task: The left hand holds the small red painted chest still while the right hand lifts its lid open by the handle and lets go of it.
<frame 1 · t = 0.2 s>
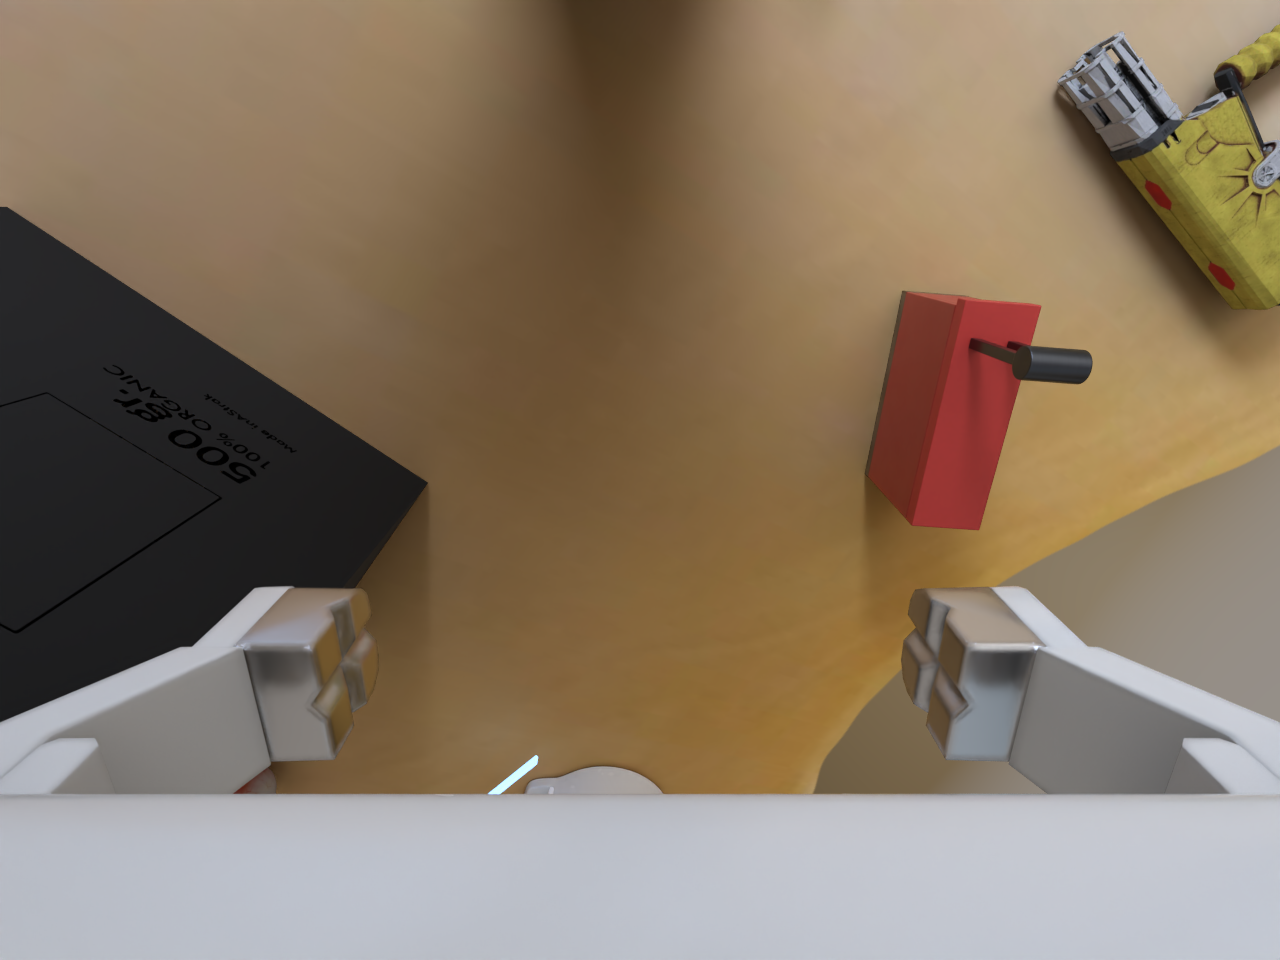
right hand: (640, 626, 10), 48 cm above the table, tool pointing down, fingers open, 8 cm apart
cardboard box: (183, 446, 59), on the table
toy gun: (1226, 129, 50), on the table
eyeball: (260, 770, 72), on the table
lid: (996, 436, 44), point 14 cm above the table, hinge at 0.0°
chest: (912, 388, 58), on the table
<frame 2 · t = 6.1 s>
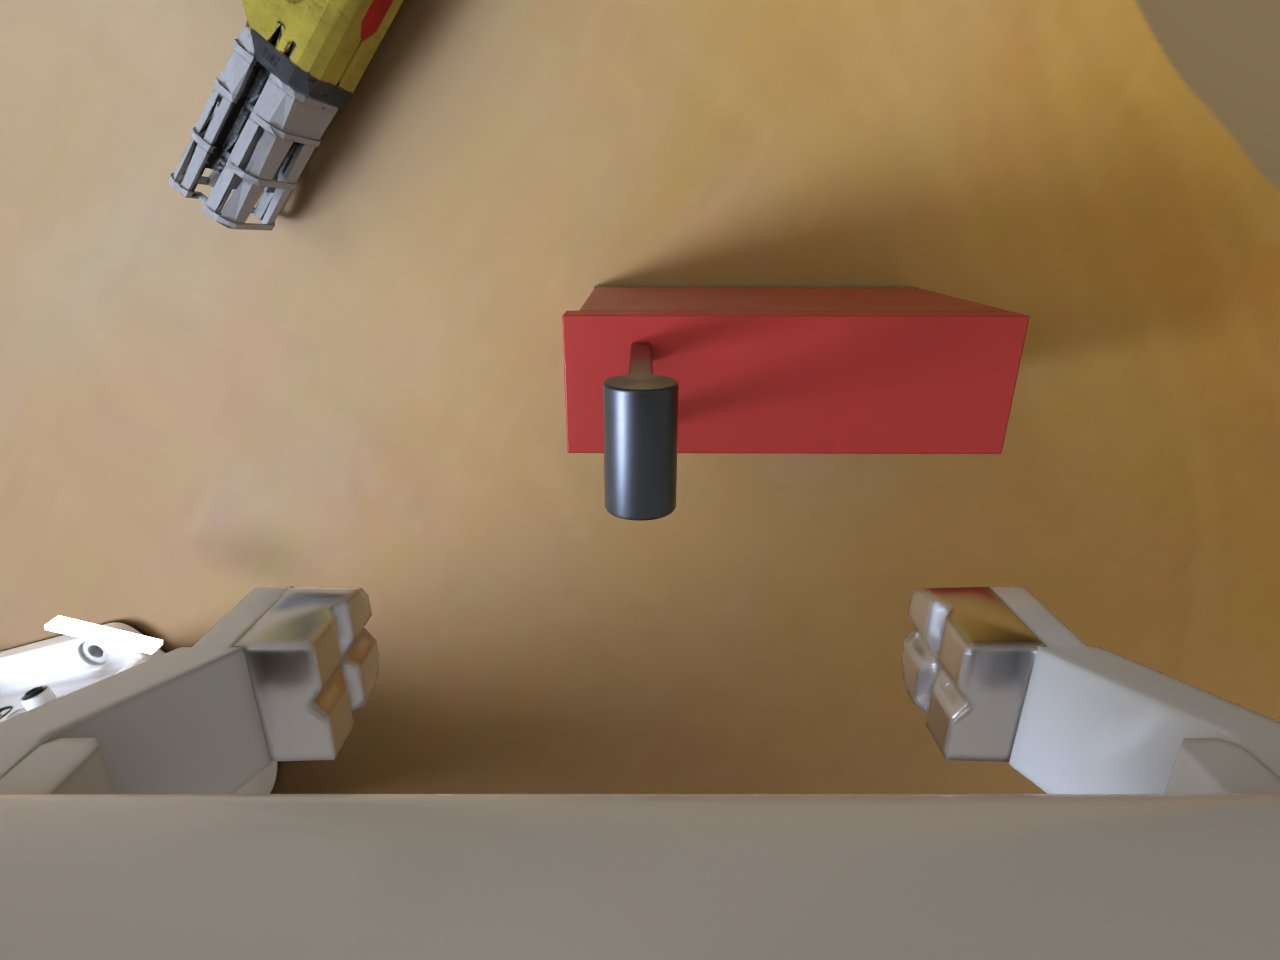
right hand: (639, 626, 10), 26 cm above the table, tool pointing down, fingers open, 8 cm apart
lid: (811, 411, 21), point 14 cm above the table, hinge at 0.0°
chest: (750, 337, 35), on the table
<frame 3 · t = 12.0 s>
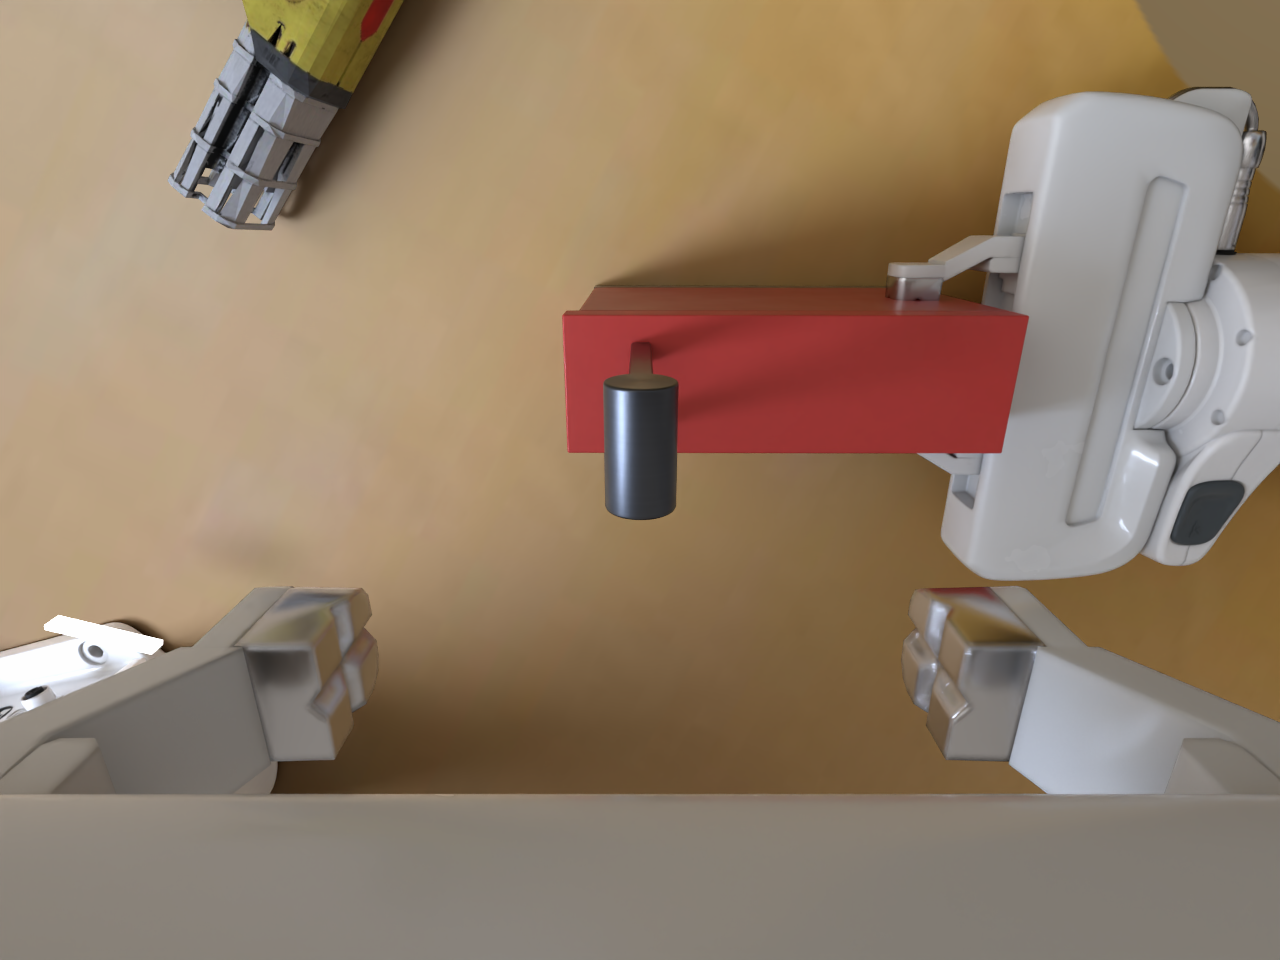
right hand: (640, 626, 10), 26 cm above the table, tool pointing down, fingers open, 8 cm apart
left hand: (880, 359, 29), fingers closed on chest, 5 cm apart
lid: (811, 411, 21), point 14 cm above the table, hinge at 0.0°
chest: (750, 337, 35), on the table, touching left hand
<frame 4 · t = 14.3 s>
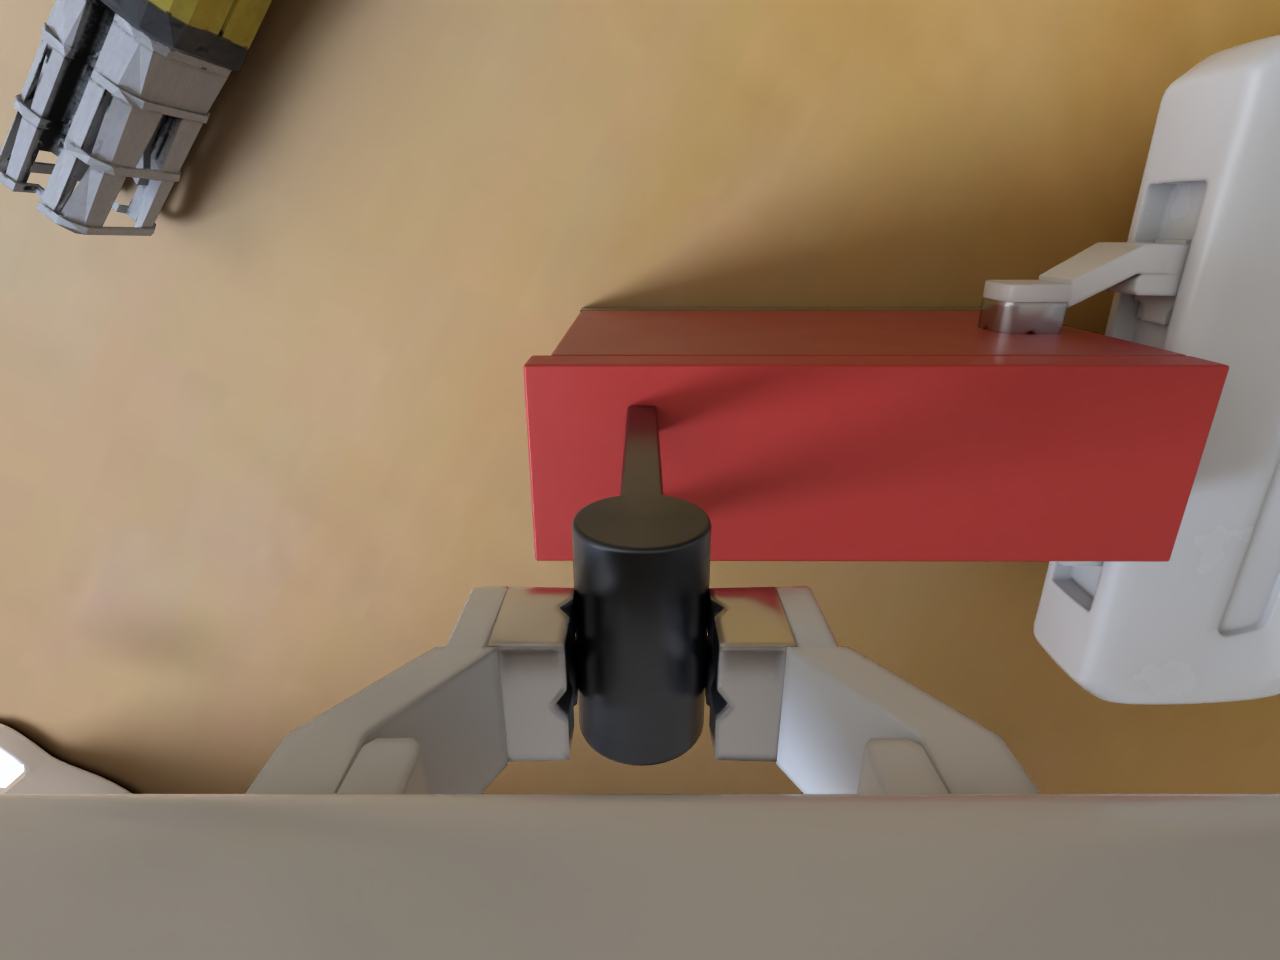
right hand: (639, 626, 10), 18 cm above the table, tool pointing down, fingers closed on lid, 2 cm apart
lid: (914, 526, 13), point 14 cm above the table, hinge at -0.1°, touching right hand
chest: (783, 373, 27), on the table, touching left hand
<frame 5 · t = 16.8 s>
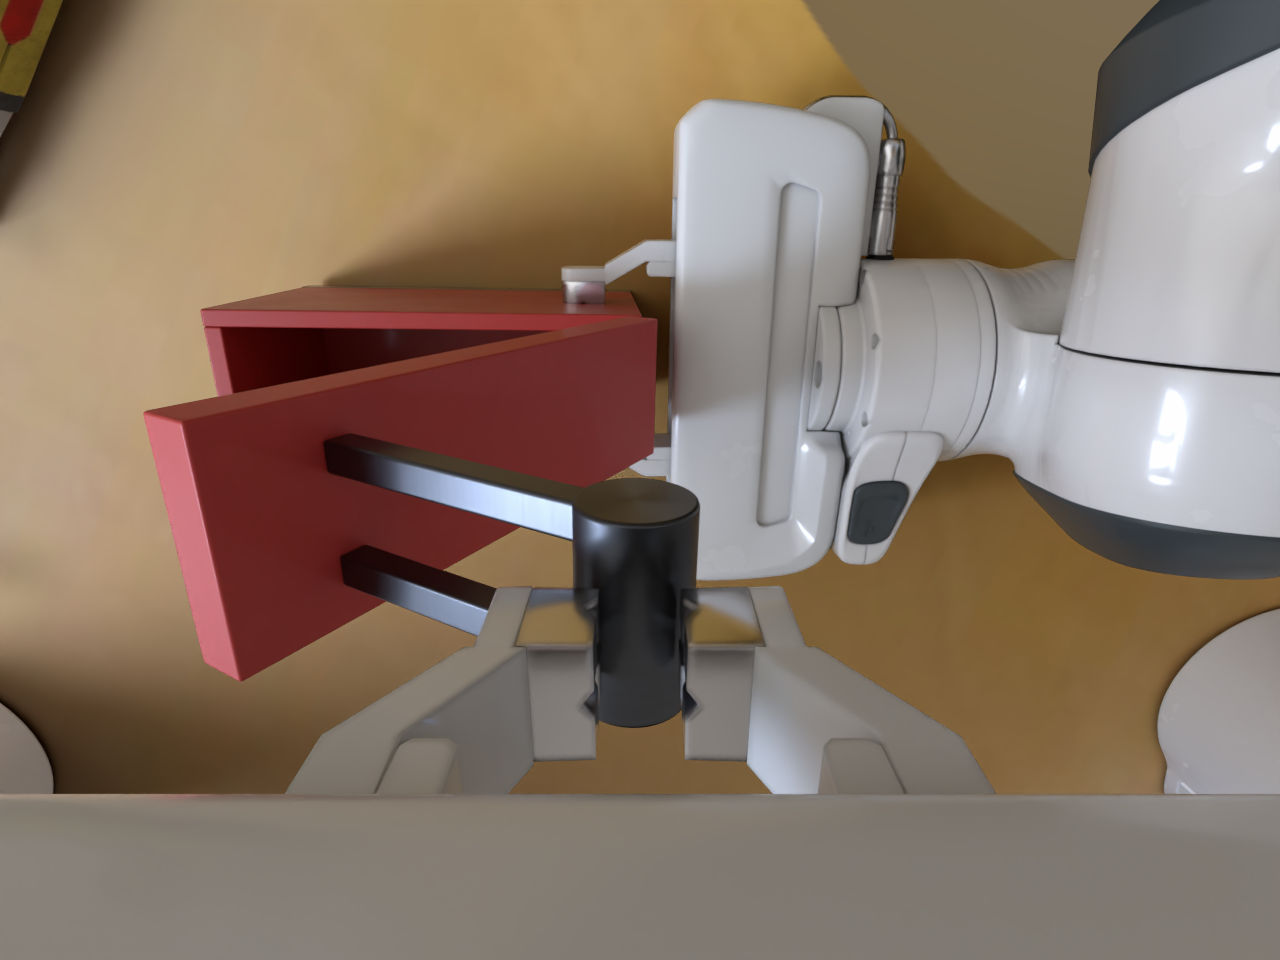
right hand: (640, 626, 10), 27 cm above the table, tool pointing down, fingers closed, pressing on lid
left hand: (565, 361, 30), fingers closed on chest, 5 cm apart
lid: (618, 466, 17), point 19 cm above the table, hinge at 57.2°, touching right hand
chest: (475, 339, 35), on the table, touching left hand
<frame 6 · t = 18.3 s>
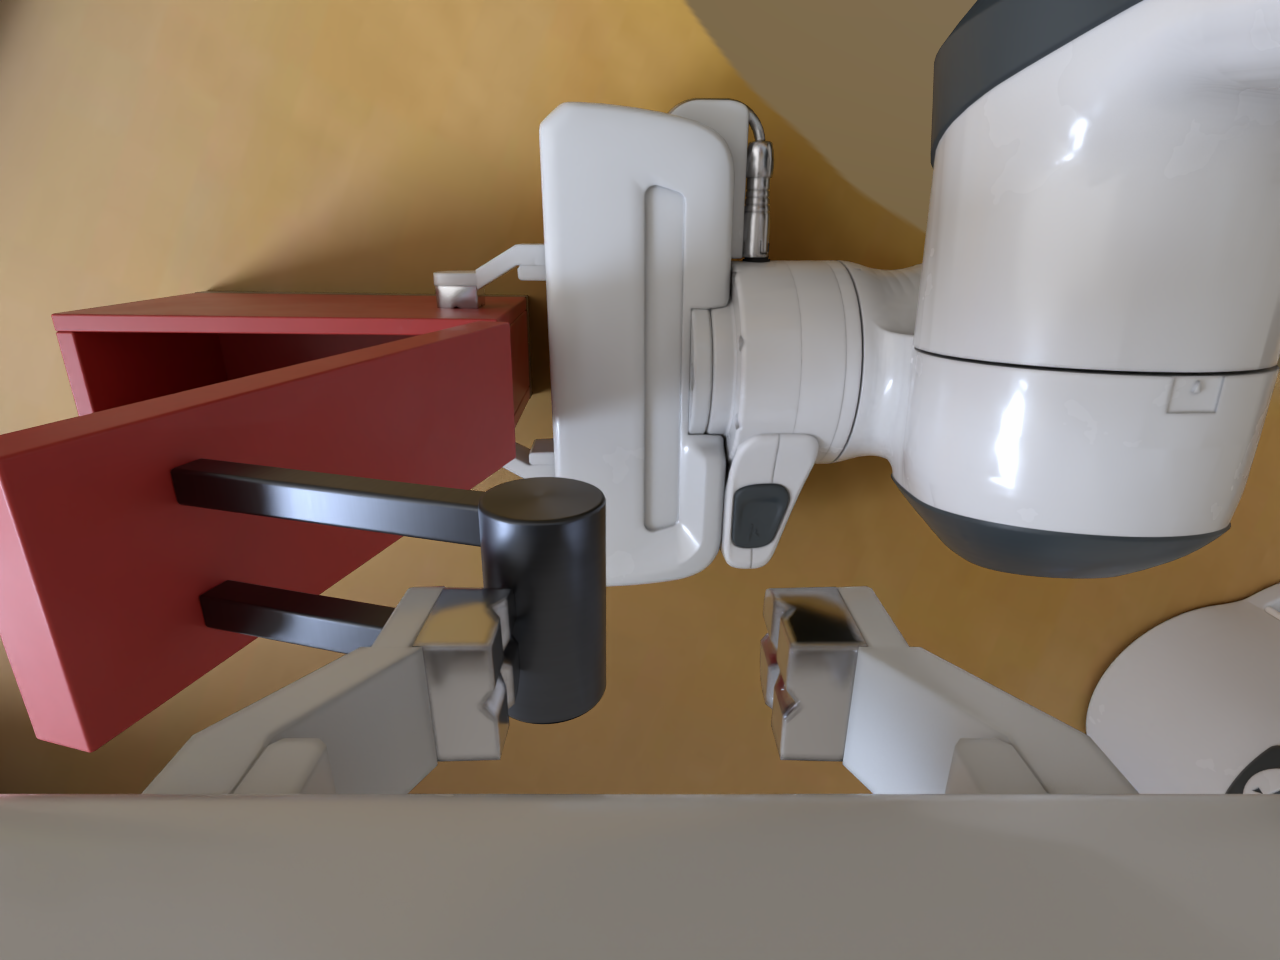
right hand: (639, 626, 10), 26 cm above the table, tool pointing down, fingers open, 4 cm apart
left hand: (445, 367, 29), fingers closed on chest, 5 cm apart
lid: (495, 470, 17), point 19 cm above the table, hinge at 72.6°, touching right hand
chest: (374, 344, 34), on the table, touching left hand
when the left hand's fingers open (6 cm above the table, at t = 21.4 s): chest stays where it is, on the table.
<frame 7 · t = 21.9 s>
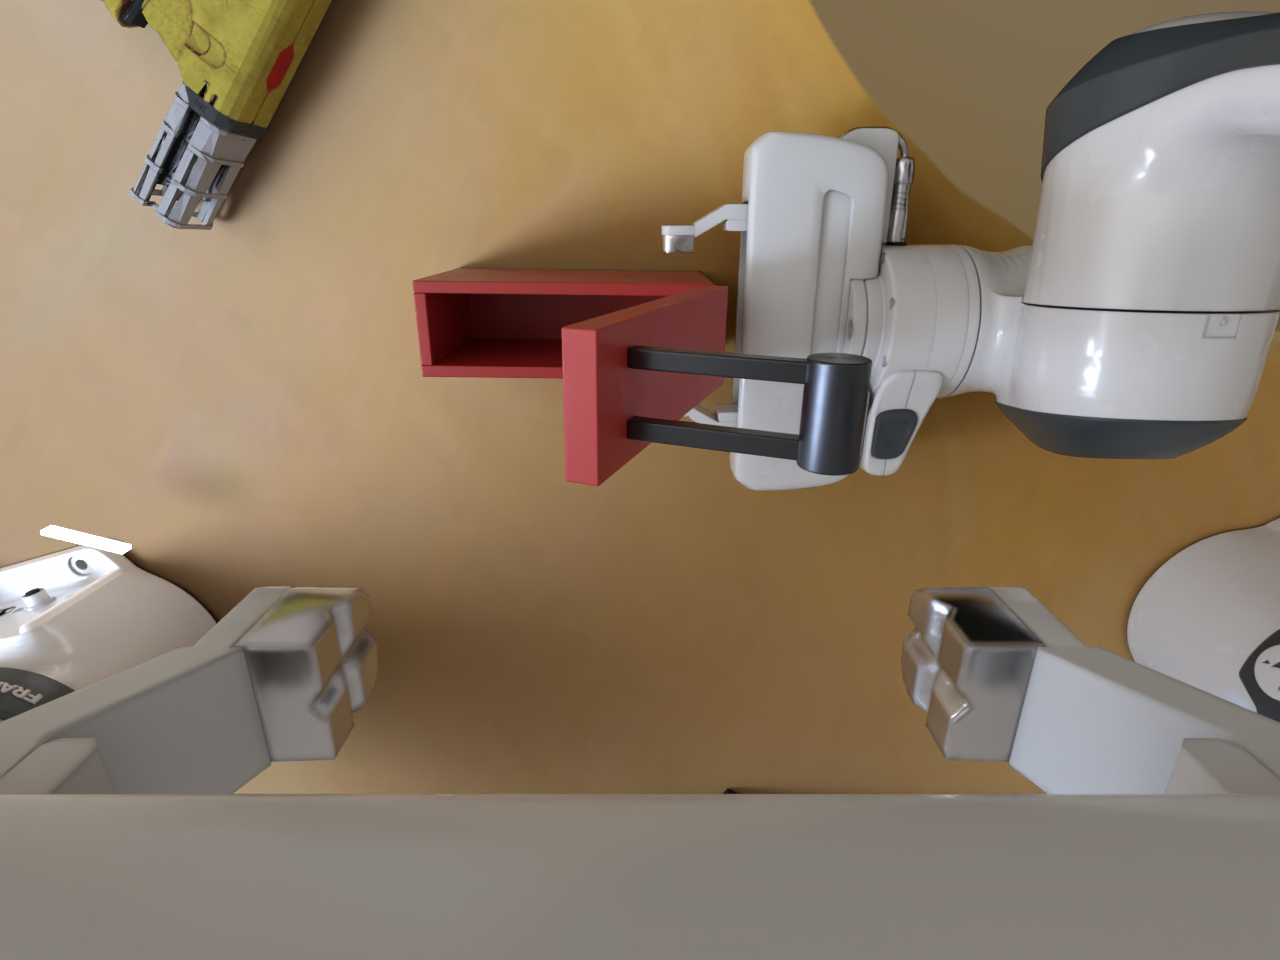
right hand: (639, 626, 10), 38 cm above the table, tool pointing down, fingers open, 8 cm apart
lid: (756, 371, 27), point 19 cm above the table, hinge at 69.0°
chest: (580, 309, 45), on the table
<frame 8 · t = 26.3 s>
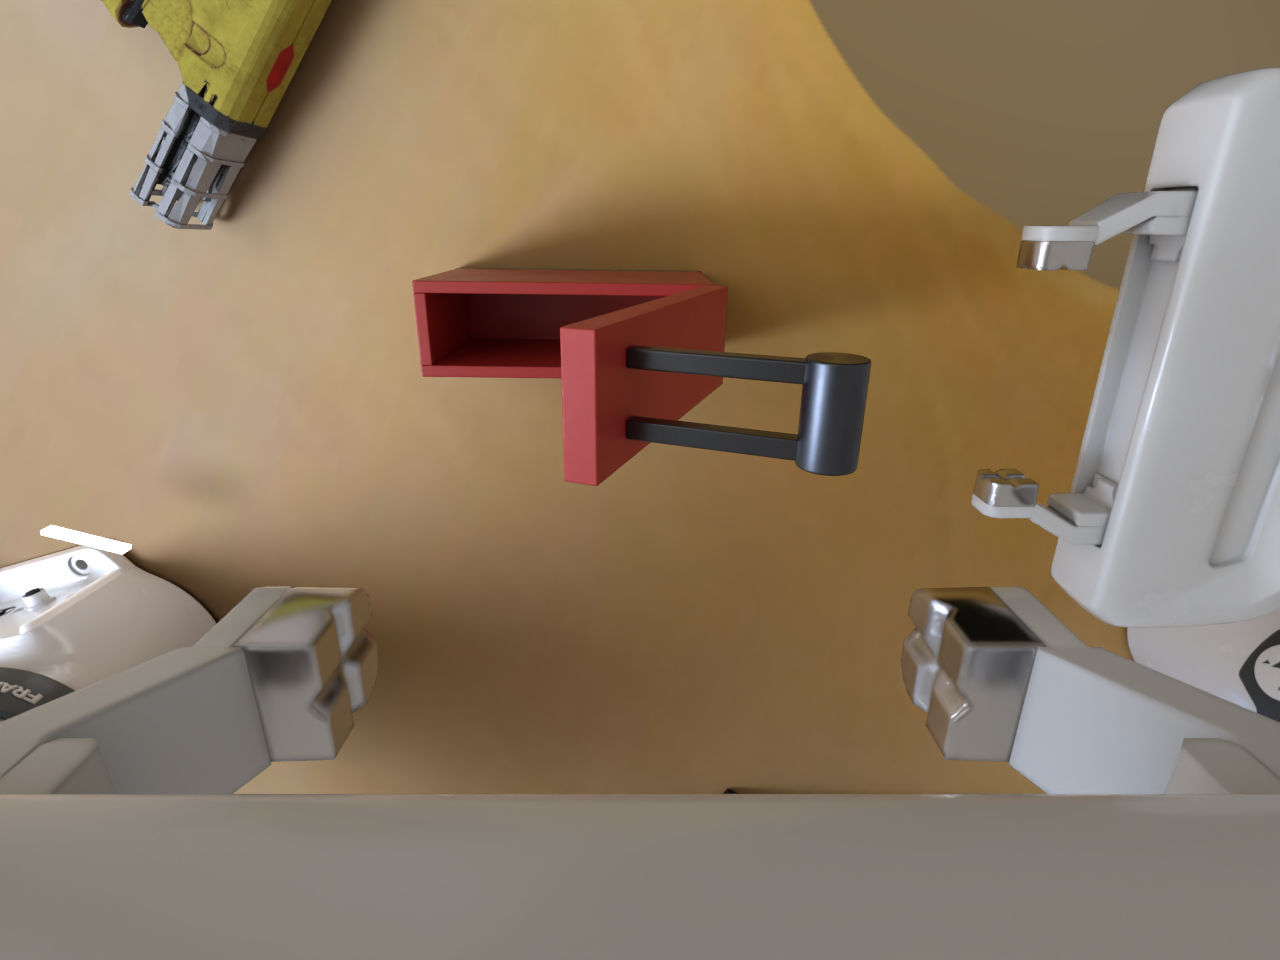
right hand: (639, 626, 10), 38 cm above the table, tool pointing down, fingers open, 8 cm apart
left hand: (1002, 378, 26), fingers open, 8 cm apart
lid: (755, 371, 27), point 19 cm above the table, hinge at 69.0°
chest: (580, 309, 45), on the table
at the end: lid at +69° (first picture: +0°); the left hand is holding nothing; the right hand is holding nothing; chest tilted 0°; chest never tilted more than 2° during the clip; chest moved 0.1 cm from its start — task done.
